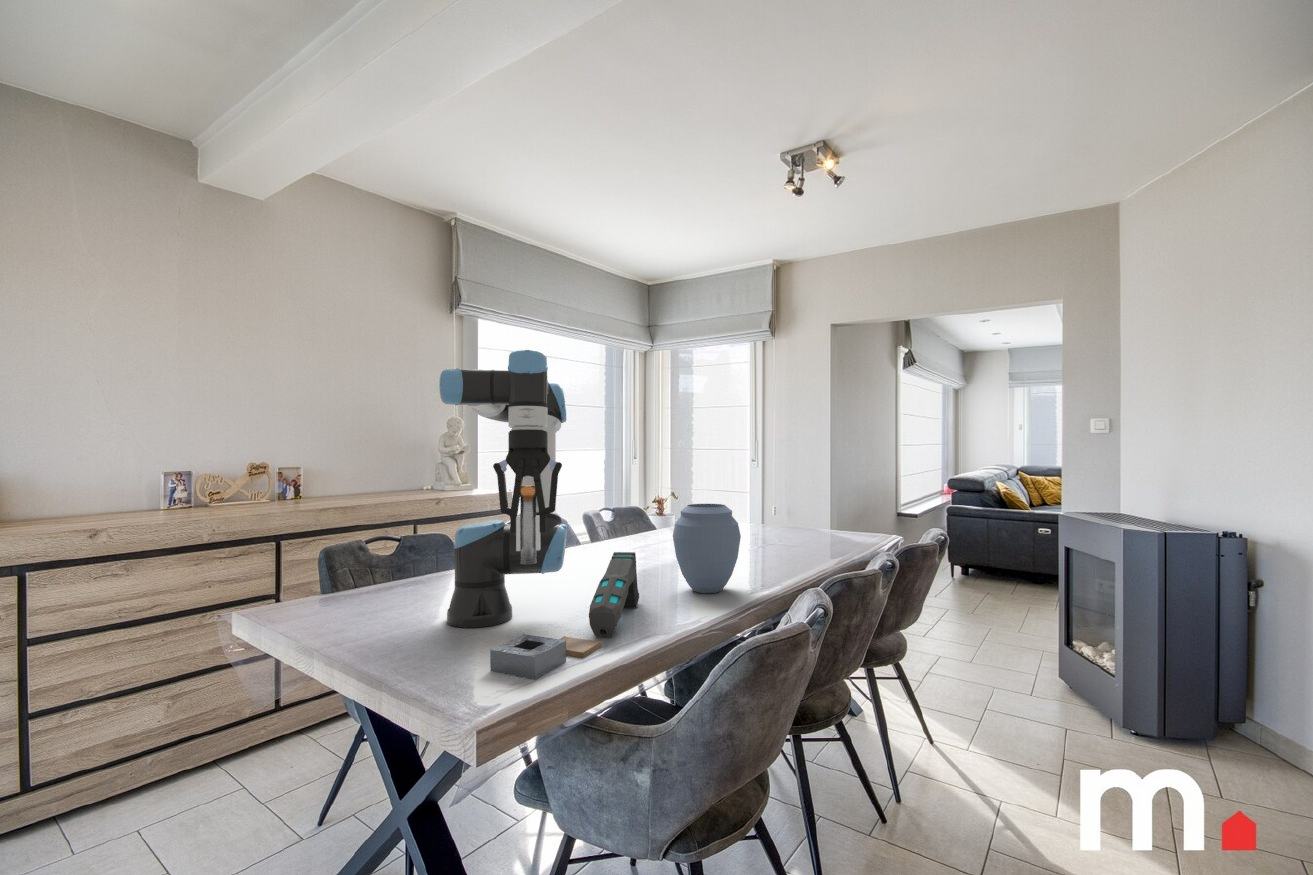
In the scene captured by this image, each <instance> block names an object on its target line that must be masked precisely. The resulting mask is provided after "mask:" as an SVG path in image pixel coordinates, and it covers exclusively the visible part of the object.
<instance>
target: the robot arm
mask: <svg viewBox="0 0 1313 875" xmlns="http://www.w3.org/2000/svg"><path fill="white" fill-rule="evenodd" d="M507 365H508V366H507V369H493V368H492V369H482V368H481V369H480V368H479V369H476V368H475V369H474V368H471V369H470V368H460V367H459V368H446V369H443V370H442V371H441V372H440V377H439V396H440V399H441V402H442V403H443V404H445V405H455V406H465V405H466V406H468V407H470V408H472V410H473V412H474V413H475V414H477V415H478V416H481V417H483V418H486V419H489V420H492V421H497V422H503V423H508V427H509V428H510V429H511V430H509V432H508V451H507V452H508V453H507V455H506V456H505V459H504V460H501V461H499V462H495V463H493V466H492V468H493V469H494V472H495V473H496V476H497V478H496V479H497V487H498V488H497V489H498V500H499V507H500V512H501V514H504V515H508V516H509V518H510V519H509V520H510V521H509V522H510V524H509V525H506V523H505V521H504V520H503V519H498V520H497V519H494V520H493V519H491V520H484V521H479V522H474V523H469V524H466V525H462V526H461V527H458V529H457V530H456V531H455V533H454V545H453V549H454V590H453V593H452V597H451V600H450V604H449V606H448V607H449V608H448V609H447V611H446V623H447V624H448V625H450V626H452V627H457V628H466V629H467V628H469V629H470V628H473V629H474V628H483V627H491V626H495V625H500V624H503V623H505V622H507V621H510V620H511V619H512V617H513V606H512V604H511V602H510V598H509V595H508V590H507V589H506V581H505V580H506V578H505V577H506V575H523V574H524V575H525V574H526V575H527V574H543V575H544V574H545V573H547V574H548V573H557V572H560V570H561V569H562V567H563V566H564V562H565V561H564V560H565V555H566V554H565V553H566V545H567V535H568V525H567V524H564V523H562V522H563V520H562V516H560V514H558V513H557V512H556V511H557V510H556V504H557V503H556V502H557V494H558V493H557V492H558V481H559V480H558V479H559V473H560V471H561V469H562V467H563V464H562V463H561V462H560V461H557V460H556V454H557V453H556V451H557V450H556V447H557V444H556V442H557V441H556V438H557V436H556V435H557V433H558V432H559V431H561V430H560V429H561V428H562V424H564V423H566V422H567V407H566V400H565V392H564V387H563V385H562V384H561V382H559V381H556V380H555V381H551V380H548V368H549V367H548V358H547V355H546V353H545V352H543V351H539V350H536V349H519V350H513V351H511V352H510V353H509V355H508V364H507ZM507 465H508V466H509V467H510V468H511V470H512V471H513V473H514V475H515V477H514V486H513V491H512V498H511V506H510V507H509V501H508V492H507V481H506V479H507V478H506V474H505V472H507ZM520 486H535V489H536V517H535V521H536V563H535V564H521V515H520V513H519V506H520V497H519V494H520Z"/></svg>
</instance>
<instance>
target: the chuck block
mask: <svg viewBox="0 0 1313 875" xmlns="http://www.w3.org/2000/svg"><path fill="white" fill-rule="evenodd" d="M489 651H490V652H489V654H490V661H489V662H490V666H489V668H490V669H489V670H490V672H491V673H496V674H501V675H502V674H503V675H507V676H513V677H517V678H523V679H528V680H534V681H536V680H538V679H539V678H541V677H543V676H544V675H546V674H547V673H549V672H550V671H553V670H554V669H555V668H557V667H559V666H561V665H562V664H564V663H566V662H567V655H566V640H560V638H559V639H558V638H552V637H545V636H537V635H532V634H525V633H523V634H521V635H519V636H517V637H515V638H512V639H510V640H508V641H507V642H504V643H501V644H500V645H497V646H495V647H493V648H491V649H490V650H489Z"/></svg>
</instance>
